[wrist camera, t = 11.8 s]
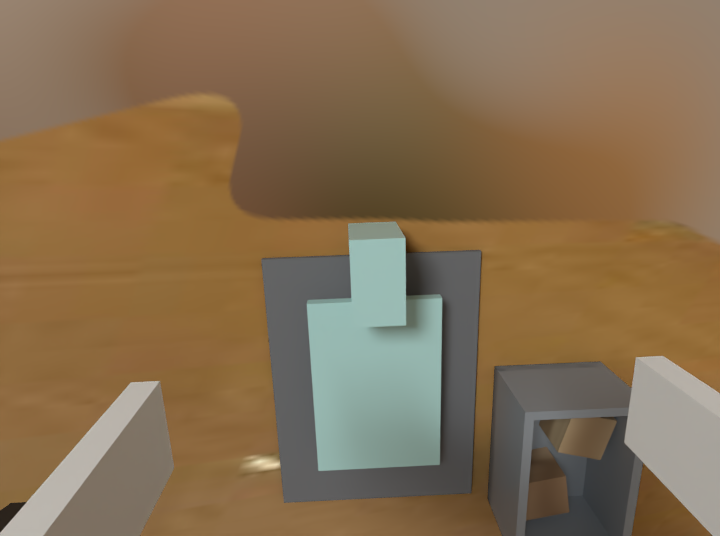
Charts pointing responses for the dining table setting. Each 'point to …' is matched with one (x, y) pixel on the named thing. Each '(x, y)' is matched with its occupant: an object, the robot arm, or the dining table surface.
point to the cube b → (580, 435)
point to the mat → (294, 378)
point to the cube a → (546, 486)
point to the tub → (583, 475)
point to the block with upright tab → (376, 361)
